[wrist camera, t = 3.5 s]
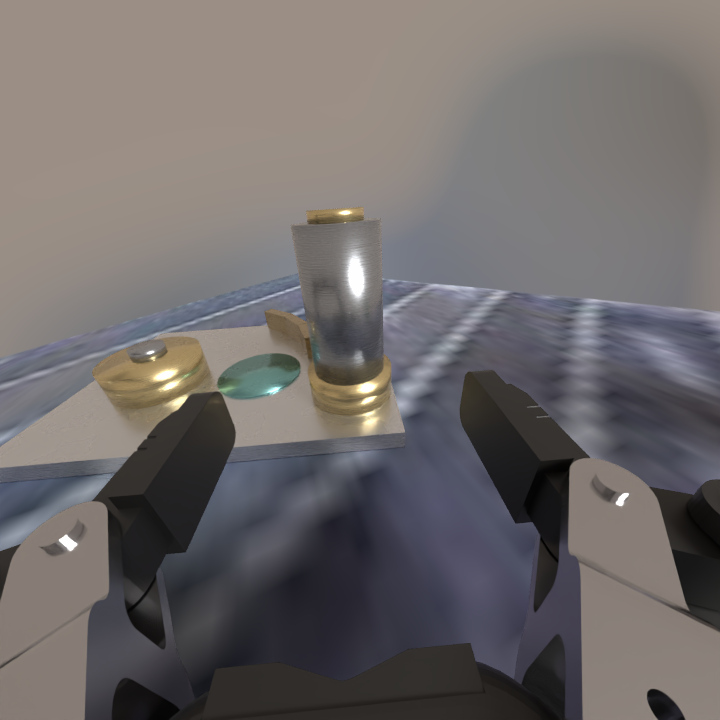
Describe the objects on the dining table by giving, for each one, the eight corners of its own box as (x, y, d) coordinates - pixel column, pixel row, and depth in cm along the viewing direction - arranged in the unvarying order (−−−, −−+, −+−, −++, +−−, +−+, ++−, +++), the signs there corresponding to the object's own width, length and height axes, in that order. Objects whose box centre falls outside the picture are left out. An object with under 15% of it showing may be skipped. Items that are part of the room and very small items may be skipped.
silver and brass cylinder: (307, 419, 17) (265, 214, 12) (315, 371, 22) (288, 211, 17) (397, 411, 17) (400, 205, 12) (385, 365, 22) (382, 205, 17)
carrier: (-18, 484, 16) (-85, 427, 14) (165, 342, 32) (148, 306, 30) (404, 446, 16) (406, 386, 14) (373, 326, 33) (371, 289, 31)
